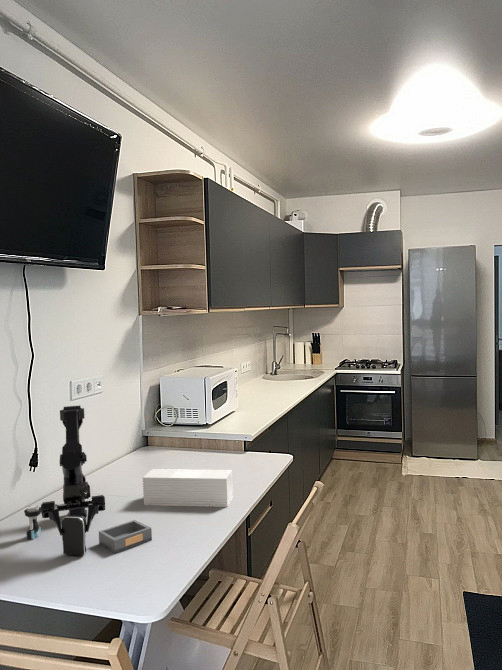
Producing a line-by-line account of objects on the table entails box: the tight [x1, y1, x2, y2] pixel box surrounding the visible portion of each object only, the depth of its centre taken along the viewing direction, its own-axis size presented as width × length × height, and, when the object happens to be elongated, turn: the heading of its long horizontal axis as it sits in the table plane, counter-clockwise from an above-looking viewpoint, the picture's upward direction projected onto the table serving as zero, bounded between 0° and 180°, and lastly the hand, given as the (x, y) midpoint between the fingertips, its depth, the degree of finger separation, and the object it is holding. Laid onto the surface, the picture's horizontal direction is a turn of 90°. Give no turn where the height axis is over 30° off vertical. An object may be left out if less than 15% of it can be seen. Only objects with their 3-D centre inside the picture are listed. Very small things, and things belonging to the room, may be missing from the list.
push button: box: [23, 504, 42, 540], centre depth 187 cm, size 7×5×10 cm
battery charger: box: [60, 514, 88, 556], centre depth 172 cm, size 7×4×11 cm, turn 80°
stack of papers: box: [142, 468, 234, 508], centre depth 215 cm, size 32×11×11 cm, turn 81°
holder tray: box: [98, 519, 153, 554], centre depth 179 cm, size 10×13×4 cm
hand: (74, 533), depth 170 cm, fingers closed on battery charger, 7 cm apart
